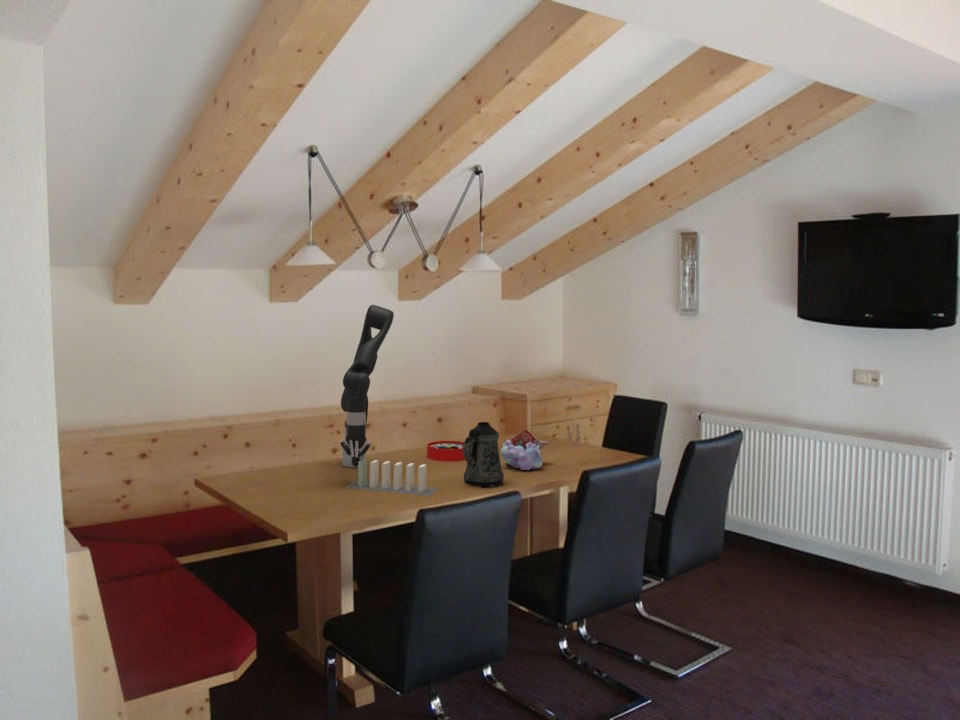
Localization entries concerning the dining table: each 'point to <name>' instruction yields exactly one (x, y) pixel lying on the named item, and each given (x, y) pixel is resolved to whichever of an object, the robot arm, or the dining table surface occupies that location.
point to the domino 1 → (362, 472)
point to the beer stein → (482, 457)
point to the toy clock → (445, 451)
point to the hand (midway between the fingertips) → (355, 465)
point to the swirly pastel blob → (523, 451)
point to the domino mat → (391, 489)
